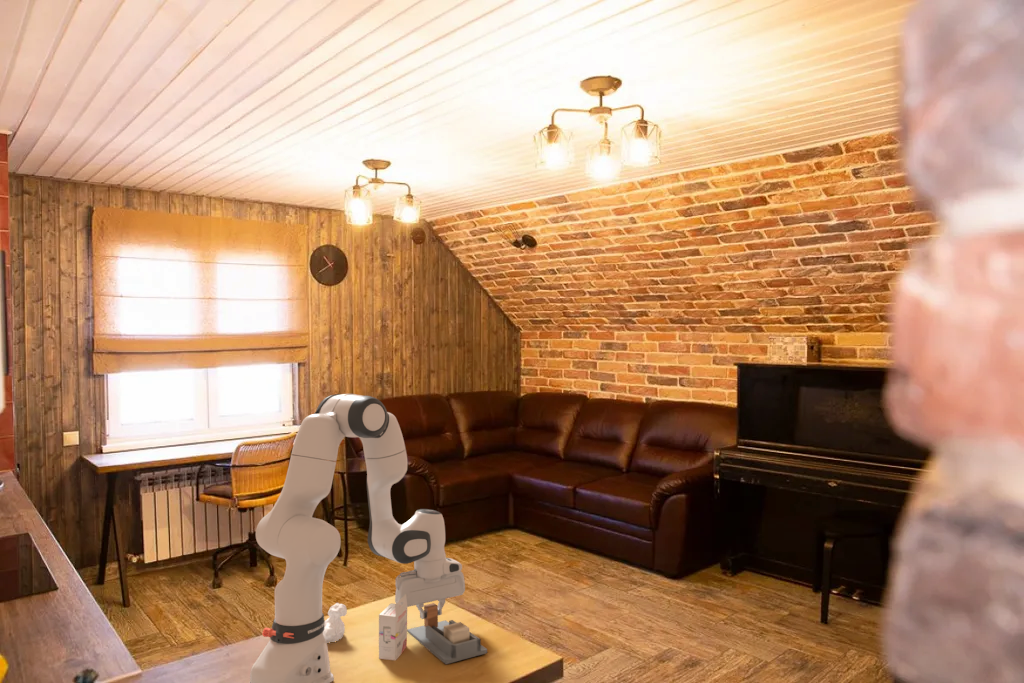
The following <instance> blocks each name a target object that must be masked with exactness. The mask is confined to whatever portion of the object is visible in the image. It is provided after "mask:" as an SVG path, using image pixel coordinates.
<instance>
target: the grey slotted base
mask: <svg viewBox="0 0 1024 683" xmlns="http://www.w3.org/2000/svg"><path fill="white" fill-rule="evenodd" d="M454 623H457V622H456V621H454V620H453V619H451V620H448V621H447V620H442V621H438V627H437V628H438V629H440V630H441V631H442V632H444V626H446V625H450V624H454ZM407 634H410V635H411V636H412V637H413V638H414V639H415V640H417V642H419V643H420V644H421V645H422V646H424V647H423V648H425V649H427V651H428V652H430V653H431V654H432V655H434V657H436V658H437V659H438V660H440V661H441V662H442V663H443V664H445V665H449V664H452V663H456V662H459V661H460V662H461V661H463V660H467V659H470V658H474V657H477V656H482V655H485V654H487V653H488V648H486V647H485V646H484V645H482V643H481V639H482V638H480V637H478V636H477V635H475V634H473V632H470V631H469V634H470V640H469V641H465V642H461V643H458V644H453V643H451V642H450V641H449V640H447V639H446V638H445V637H444V636H442V635H441V634H439V633H438V632H437V631H435V630H434V629H433V628H431V627H430V626H424V625H420V626H418V627H411V628H407Z"/></svg>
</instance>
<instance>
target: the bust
mask: <svg viewBox="0 0 1024 683" xmlns="http://www.w3.org/2000/svg"><path fill="white" fill-rule="evenodd" d="M327 611H328V612H327V616H328V618H327V619H325V624H324V631H323V635H324V638H325V641H326V643H329V642H335V641H337V642H339V641H340V640H341V639H342V638H343V637H344V634H345V629H346V628H345V626H346V625H345V623H344V621H343V620H342V618H341V617H345V616H346V615H347V613H348V609H347V606H346V605H345V604H343V603H340V602H335V604H333V605H331V606H330V607H329V610H327ZM339 639H340V640H339ZM335 643H336V642H335ZM329 644H330V643H329Z"/></svg>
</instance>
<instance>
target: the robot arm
mask: <svg viewBox="0 0 1024 683" xmlns="http://www.w3.org/2000/svg"><path fill="white" fill-rule="evenodd" d="M403 436H404V435H403V433H402V430H401V427H400V424H399V422H398V419H397V417H396V416H395V415H394V414H393V413H392V412H389V411H387V408H386V406H385V405H384V403H383V402H382V401H381V400H380V399H378V398H377V397H373V396H371V395H361V394H355V393H341V394H340V393H336V394H331V395H329V396H326V397H325V398H323V400H321V401H320V403H319V404H318V406H317V408H316V411H315V412H314V413H313V414H309V415H307V416H306V417H305V418H303V420H302V422H301V423H300V426H299V429H298V430H297V434H296V436H295V439H294V443H293V446H292V450H291V454H290V459H289V464H288V468H287V472H286V476H285V481H284V483H283V487H282V489H281V492H280V494H279V496H278V497H277V500H276V501H275V504H274V505H273V507H272V509H271V510H270V511H269V512H267V514H266V515H264V516H263V517H262V518H261V519H260V520H259V522H258V524H257V525H256V529H255V539H256V540H255V541H256V542H257V545H258V546H259V547H260V548H261V549H262V550H264V551H265V552H266V553H268V554H270V555H271V556H274V557H276V558H280V559H283V560H285V564H286V565H285V566H286V567H285V572H284V575H283V578H282V579H281V580H280V581H279V582H278V583H277V584H276V586H275V588H274V619H273V622H272V626H271V627H270V628H269V627H264V628H263V630H262V636H263V637H265V638H267V637H268V638H269V641H268V642H267V644H266V645H265V647H264V649H263V650H262V651H261V653H260V655H259V656H258V658H257V659H256V660H255V662H254V663H253V665H252V667H251V669H250V675H249V683H332V682H334V681H335V679H334V678H335V677H334V674H333V673H332V672H331V667H330V666H331V664H330V656H329V651H328V650H329V648H328V644H327V643H326V641H325V638H324V635H323V631H324V624H325V621H326V619H325V614H324V613H323V586H324V585H323V584H324V578H325V574H326V571H327V568H328V566H329V564H330V563H331V562H333V561H334V560H335V558H336V557H337V556H338V553H339V552H340V550H341V544H342V542H341V541H342V540H341V535H340V532H339V530H338V529H337V527H335V526H333V525H332V524H330V523H328V521H325V520H323V519H322V518H321V519H320V518H316V517H313V516H314V513H315V510H316V509H317V506H318V505H319V503H320V502H321V501H322V500H324V499H325V498H327V496H328V495H329V494H330V492H331V489H332V487H333V486H332V485H333V479H334V475H335V469H336V466H337V460H338V453H339V447H340V445H341V443H342V441H343V440H344V439H345V437H347V438H359V440H360V441H361V444H362V447H363V448H362V449H363V454H364V455H363V456H364V461H365V467H366V474H367V475H366V491H367V492H366V493H367V494H366V495H367V503H368V512H369V528H368V533H367V544H368V548H369V550H370V551H371V552H372V553H373V554H374V555H376V556H379V557H384V558H386V559H388V560H391V561H393V562H396V563H399V564H404V565H407V564H411V563H413V566H414V567H413V568H414V569H413V570H409V571H403V572H400V574H398V575H397V576H396V577H395V596H394V598H395V599H394V601H395V604H396V603H397V602H398V601H399V600H400V599H401V598H402V597H403V596H404V595H405V594H406V596H407V608H408V607H412V606H416V608H417V610H418V611H419V616H420V619H421V620H423V619H425V618H427V612H426V611H425V610H424V605H425V604H426V603H431V602H432V603H433V602H436V601H437V602H438V604H437V606H438V616H442V614H443V607H444V606H445V605H446V604H445V603H446V599H450V598H453V597H458V596H462V595H463V594H464V593H465V590H466V582H465V576H464V575H465V574H464V573H463V571H462V570H463V564H462V563H461V562H459V561H458V560H456V559H453V558H450V557H446V556H447V554H446V552H445V551H446V550H445V544H446V525H445V519H444V517H443V514H442V513H441V512H440V511H437V510H434V509H428V508H420V509H417V510H416V511H415V512H414V514H413V515H412V516H411V518H410V519H408V520H407V521H406V522H404V523H402V524H401V523H398V521H397V520H396V519H395V517H394V516H393V515H394V514H393V508H392V499H391V498H392V497H391V488H392V486H393V485H394V484H395V485H396V484H397V483H399V482H400V481H401V480H402V479H403V478H404V477H405V475H406V474H407V471H408V454H407V449H406V444H405V440H404V437H403ZM401 604H403V602H401Z"/></svg>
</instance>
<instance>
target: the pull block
mask: <svg viewBox="0 0 1024 683" xmlns="http://www.w3.org/2000/svg"><path fill="white" fill-rule="evenodd" d="M423 610H425V611H426V612H427V618H425V619H424V621H423V622H424V624H423V626H430V627H431V628H433V629H434V630H435V631H437V632H438V633H439V634H441V635H442V636H444V637H445V638H446V639H447V640H449V641H450V642H451V643H453V644H458V643H461V642H465V641H469V640H470V634H469V632H470V627H469V626H467V625H466V624H465V623H463V622H461V621H459V622H456V623H454V624H450V625H446V626H444V632H442V631H441V630H440V629H438V628H437V627H438V622H439V615H438V604H436V603H434V602H432V603H428V604H424V607H423Z"/></svg>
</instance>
